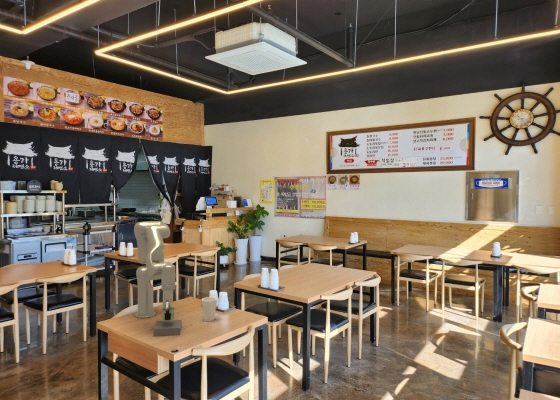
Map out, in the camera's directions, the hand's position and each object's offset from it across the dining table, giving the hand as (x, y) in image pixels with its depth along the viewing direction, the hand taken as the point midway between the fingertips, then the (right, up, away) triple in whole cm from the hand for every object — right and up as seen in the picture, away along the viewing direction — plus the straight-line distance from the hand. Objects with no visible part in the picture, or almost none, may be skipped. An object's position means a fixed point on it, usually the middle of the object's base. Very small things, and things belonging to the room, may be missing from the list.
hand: (168, 317), depth 225 cm
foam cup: (+19, -8, +21) cm, 30 cm away
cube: (0, -1, 0) cm, 1 cm away
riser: (0, -8, 0) cm, 8 cm away
